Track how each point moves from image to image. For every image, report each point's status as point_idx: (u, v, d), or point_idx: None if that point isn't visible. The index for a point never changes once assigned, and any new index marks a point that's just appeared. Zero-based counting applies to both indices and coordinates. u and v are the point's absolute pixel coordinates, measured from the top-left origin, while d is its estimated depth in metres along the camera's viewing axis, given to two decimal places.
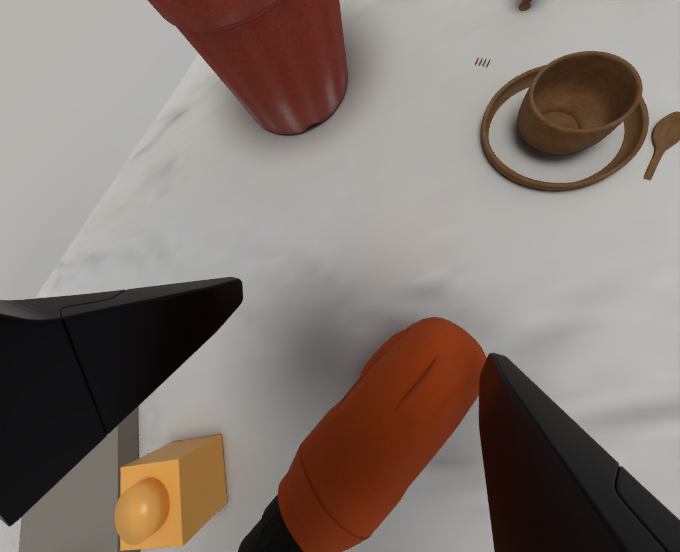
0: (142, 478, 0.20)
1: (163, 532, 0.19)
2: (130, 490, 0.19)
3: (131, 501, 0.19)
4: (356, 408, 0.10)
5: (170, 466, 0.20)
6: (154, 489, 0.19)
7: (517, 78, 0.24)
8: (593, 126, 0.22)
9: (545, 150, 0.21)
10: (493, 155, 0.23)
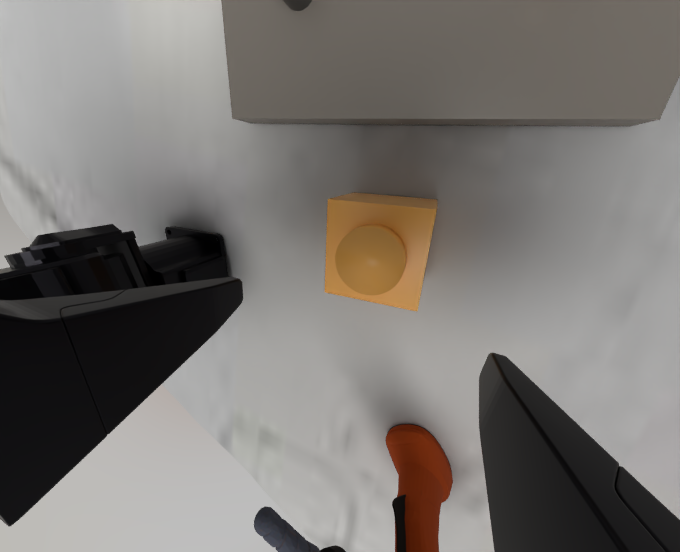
0: (408, 250, 0.14)
1: None
2: (400, 261, 0.13)
3: (385, 261, 0.13)
4: None
5: (411, 297, 0.14)
6: None
7: None
8: None
9: None
10: None
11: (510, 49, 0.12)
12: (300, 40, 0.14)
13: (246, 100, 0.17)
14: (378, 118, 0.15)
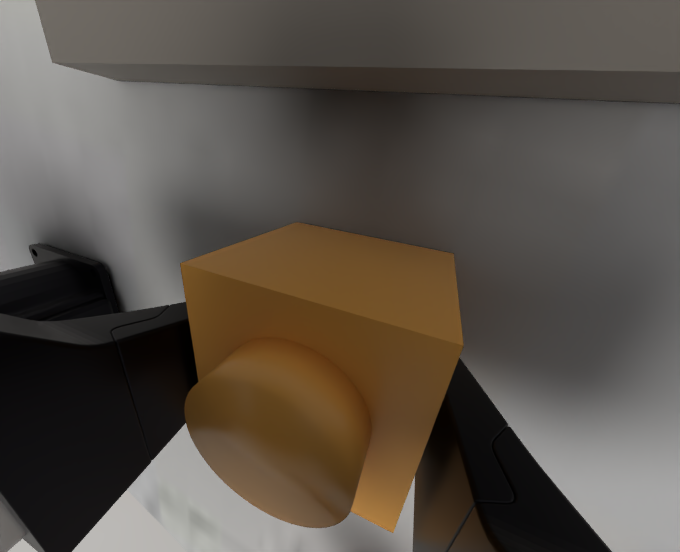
0: (376, 419, 0.05)
1: None
2: (342, 486, 0.04)
3: (303, 470, 0.04)
4: None
5: (381, 506, 0.06)
6: None
7: None
8: None
9: None
10: None
11: None
12: None
13: (66, 22, 0.08)
14: (327, 66, 0.06)
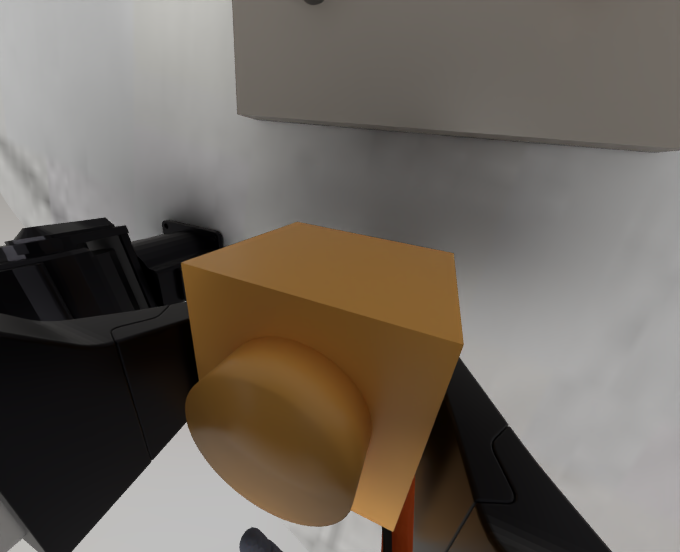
0: (376, 418, 0.05)
1: None
2: (342, 485, 0.04)
3: (303, 469, 0.04)
4: None
5: (381, 505, 0.06)
6: None
7: None
8: None
9: None
10: None
11: (537, 63, 0.11)
12: (313, 36, 0.14)
13: (253, 96, 0.16)
14: (391, 126, 0.14)
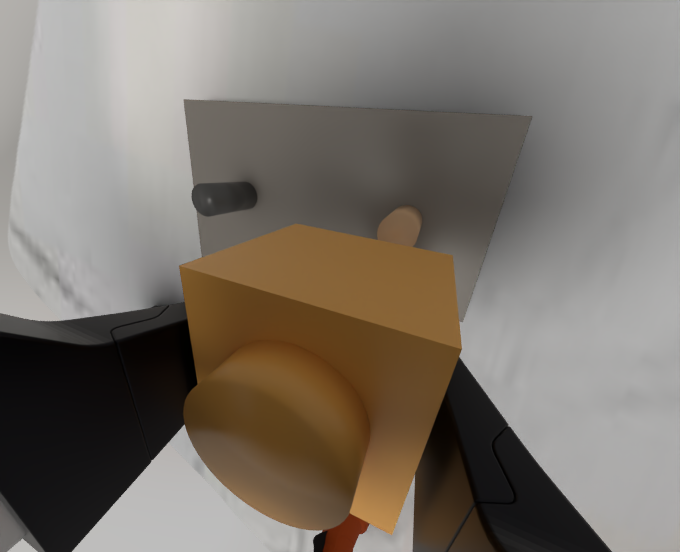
0: (374, 421, 0.05)
1: None
2: (340, 489, 0.04)
3: (301, 473, 0.04)
4: None
5: (379, 508, 0.06)
6: None
7: None
8: None
9: None
10: None
11: None
12: (248, 225, 0.21)
13: (211, 249, 0.23)
14: None
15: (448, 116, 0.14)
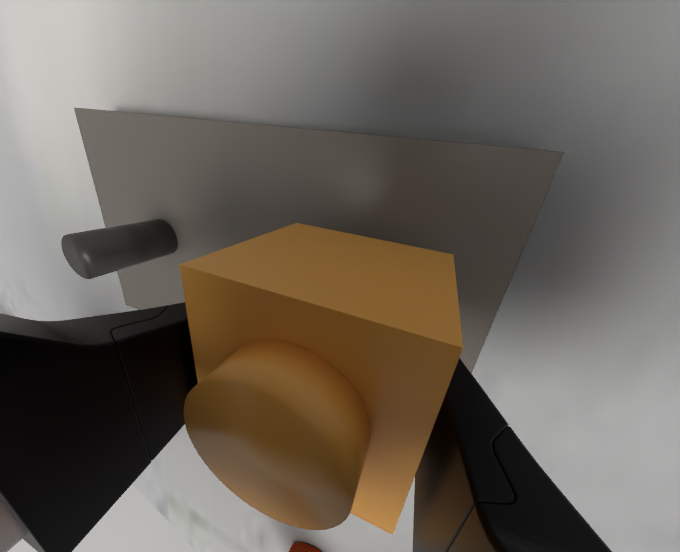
0: (375, 420, 0.05)
1: None
2: (341, 489, 0.04)
3: (302, 472, 0.04)
4: None
5: (380, 508, 0.06)
6: None
7: None
8: None
9: None
10: None
11: None
12: (171, 273, 0.16)
13: (135, 296, 0.18)
14: None
15: (426, 146, 0.09)
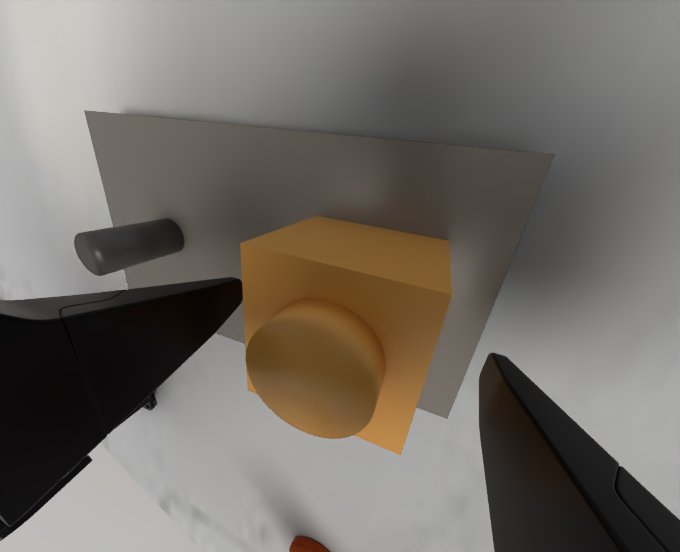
0: (389, 357, 0.07)
1: None
2: (367, 396, 0.06)
3: (338, 388, 0.06)
4: None
5: (391, 432, 0.08)
6: None
7: None
8: None
9: None
10: None
11: None
12: (177, 271, 0.16)
13: None
14: None
15: (425, 148, 0.09)
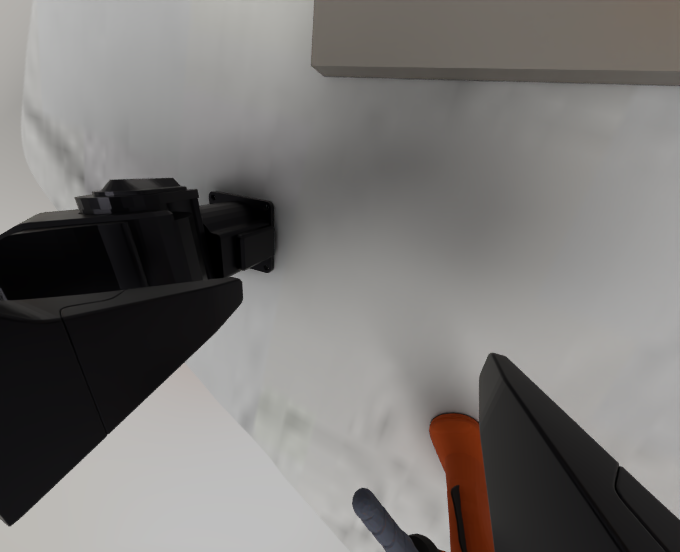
0: None
1: None
2: None
3: None
4: None
5: None
6: None
7: None
8: None
9: None
10: None
11: None
12: None
13: (331, 44, 0.15)
14: (490, 68, 0.13)
15: None
